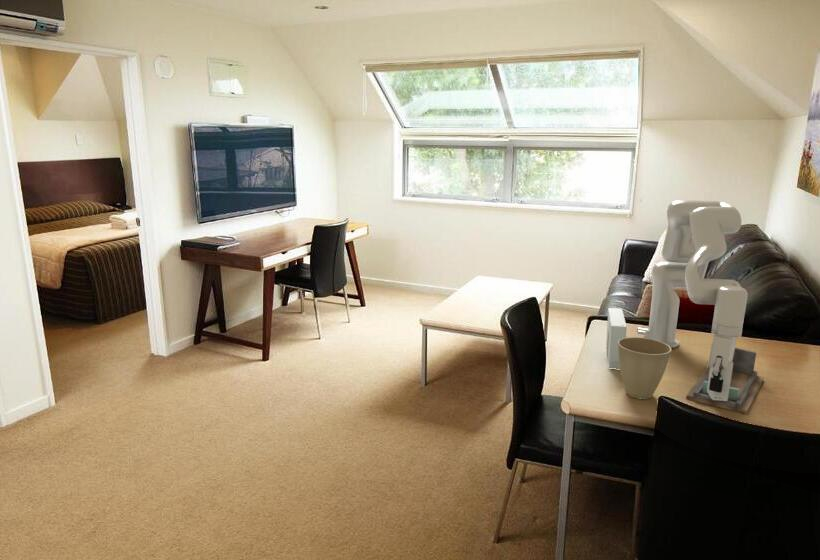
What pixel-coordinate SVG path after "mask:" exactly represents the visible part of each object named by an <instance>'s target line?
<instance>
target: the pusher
mask: <svg viewBox="0 0 820 560" xmlns="http://www.w3.org/2000/svg"><path fill="white" fill-rule="evenodd" d="M707 386H708V381H704V382H703V390H702V393H706V394H708V393H707ZM738 395H739V389H737V388H733V387H730V388H729V395H728V399H730V400H734V401H737V400H738Z"/></svg>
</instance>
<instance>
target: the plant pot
mask: <svg viewBox="0 0 820 560" xmlns="http://www.w3.org/2000/svg"><path fill="white" fill-rule="evenodd" d="M672 349H673V348H671V347H670V346H669V345H667V344H665V343H663V342H660V341H657V340H653V339H648V338H643V337H639V336H637V337H636V336H635V337H634V336H631V337H626V338H623V339H620V340H619V341H618V351H619V363H620V370H619V371H620V375H621V378H622V379H621V380H622V383H623V386H624V391H625V393H626V394H629V395H630V396H629V395H628V396H629V397H631V396H632V397H631V398H633V397H636V398H641V399H640V400H648V399H647V398H649V399H651V398H652V397H653V395H654V393H655V391H657V389H658V387H659V385H660V383H661V380H662V378H663V377H664V374H665V372H666V369H667V366H668V363H669V360H670V356H671V353H672ZM636 398H635V399H636Z"/></svg>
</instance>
